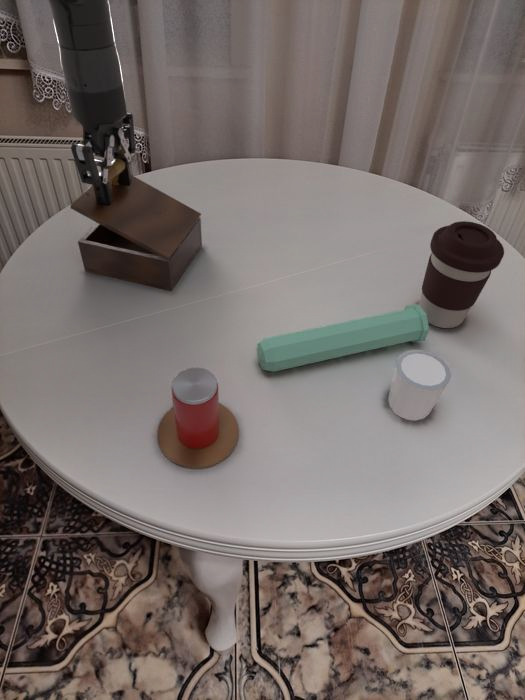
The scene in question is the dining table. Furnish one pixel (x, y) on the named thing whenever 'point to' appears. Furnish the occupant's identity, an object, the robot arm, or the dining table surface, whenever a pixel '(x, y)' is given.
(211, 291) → the dining table surface
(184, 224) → the lid
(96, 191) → the robot arm
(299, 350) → the container
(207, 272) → the dining table surface
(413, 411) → the white short cylinder
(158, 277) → the chest
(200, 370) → the can
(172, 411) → the coaster
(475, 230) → the coffee cup
